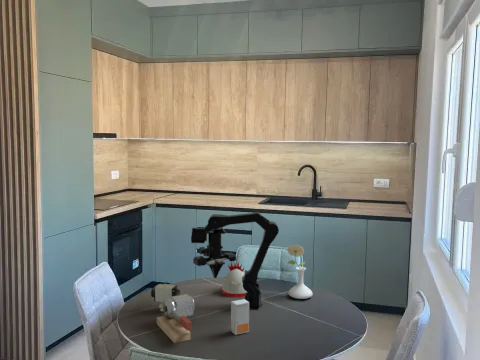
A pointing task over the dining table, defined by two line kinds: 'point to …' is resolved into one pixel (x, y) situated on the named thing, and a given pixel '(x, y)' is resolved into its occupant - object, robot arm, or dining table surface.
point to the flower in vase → (299, 289)
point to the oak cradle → (173, 329)
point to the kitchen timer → (234, 282)
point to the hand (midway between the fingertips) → (215, 277)
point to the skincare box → (240, 316)
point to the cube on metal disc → (184, 304)
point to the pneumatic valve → (164, 293)
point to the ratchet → (175, 313)
